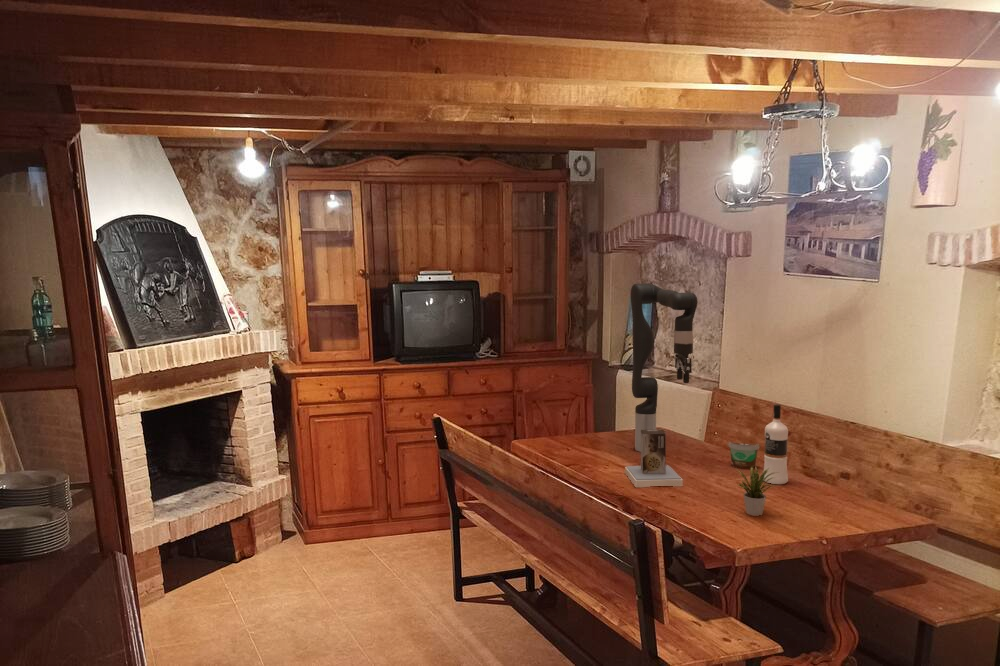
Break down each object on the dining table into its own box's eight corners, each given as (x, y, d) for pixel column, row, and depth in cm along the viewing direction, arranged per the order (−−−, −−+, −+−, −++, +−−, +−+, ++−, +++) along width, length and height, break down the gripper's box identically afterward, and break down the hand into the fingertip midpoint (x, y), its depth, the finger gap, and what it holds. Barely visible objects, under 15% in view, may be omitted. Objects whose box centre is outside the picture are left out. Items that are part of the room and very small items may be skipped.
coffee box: (663, 469, 275) (664, 429, 274) (665, 474, 269) (666, 433, 267) (640, 469, 276) (640, 429, 275) (642, 474, 270) (642, 433, 268)
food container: (726, 468, 287) (727, 444, 286) (727, 464, 293) (728, 440, 292) (758, 471, 282) (759, 446, 281) (759, 466, 288) (759, 443, 287)
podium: (625, 473, 281) (625, 465, 281) (669, 472, 282) (669, 464, 282) (635, 487, 263) (635, 479, 263) (682, 486, 264) (682, 478, 264)
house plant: (789, 519, 229) (791, 470, 228) (753, 524, 225) (755, 474, 224) (761, 505, 243) (763, 459, 241) (727, 509, 239) (728, 462, 237)
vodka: (792, 484, 264) (794, 406, 261) (768, 485, 264) (770, 407, 261) (781, 477, 274) (783, 402, 271) (758, 477, 273) (760, 402, 270)
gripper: (669, 340, 290) (668, 378, 292) (679, 343, 276) (679, 384, 278) (687, 339, 291) (686, 378, 292) (698, 343, 276) (697, 384, 278)
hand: (682, 381), depth 285 cm, fingers open, 8 cm apart
